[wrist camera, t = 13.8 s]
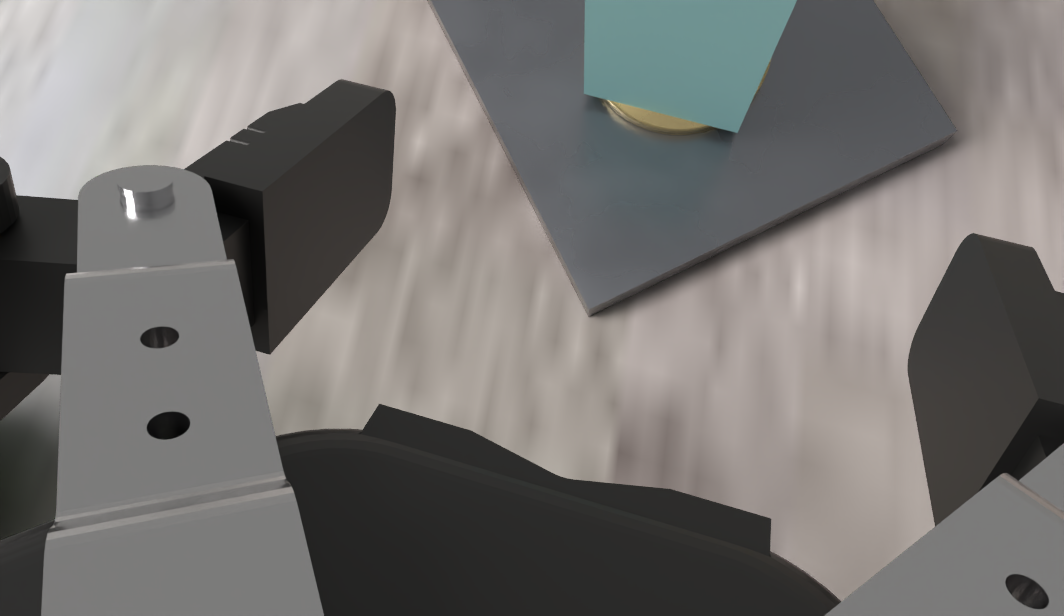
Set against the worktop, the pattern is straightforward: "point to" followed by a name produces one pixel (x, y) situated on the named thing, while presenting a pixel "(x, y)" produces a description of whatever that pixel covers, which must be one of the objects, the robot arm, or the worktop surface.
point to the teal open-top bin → (682, 54)
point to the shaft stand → (687, 136)
